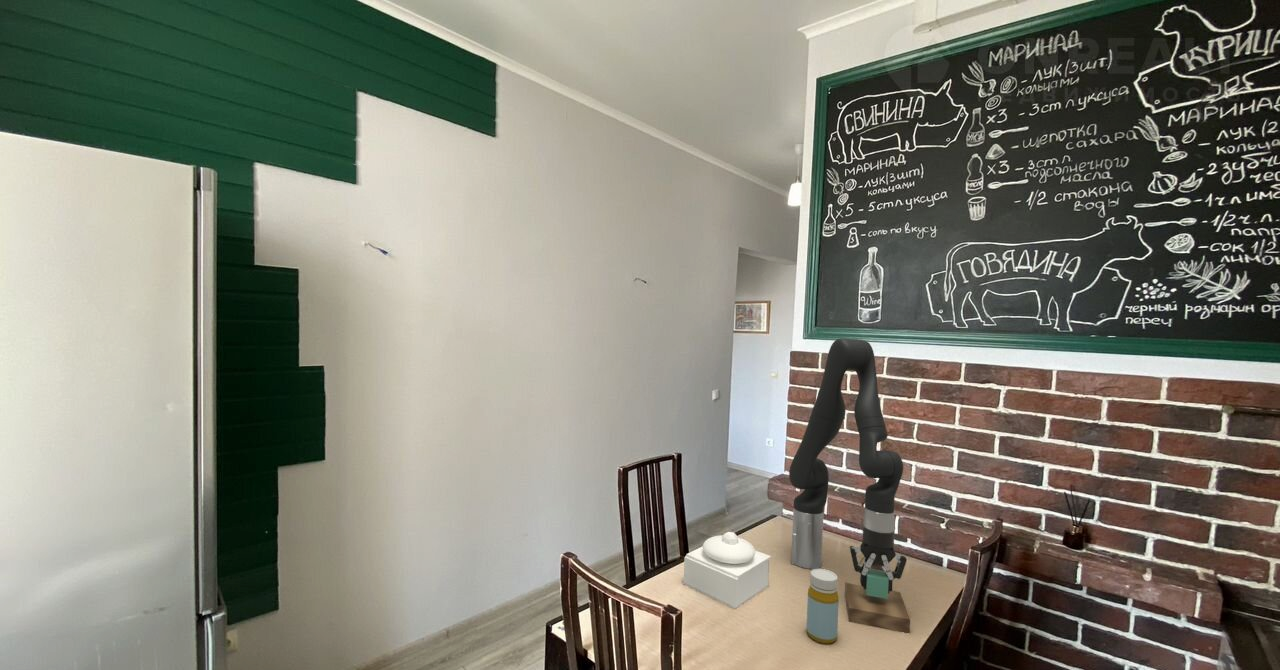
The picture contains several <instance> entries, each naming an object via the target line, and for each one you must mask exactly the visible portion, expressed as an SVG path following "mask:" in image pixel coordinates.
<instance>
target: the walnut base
mask: <svg viewBox="0 0 1280 670" xmlns="http://www.w3.org/2000/svg"><path fill="white" fill-rule="evenodd" d="M844 600H845V605H846V606H845V607H846V612H847V613H846V614H847V619H848V620H847V621H848V622H849V623H854V624H858V625H864V626H869V627H873V628H877V629H878V628H879V629H883V630H888V631H891V632H892V631H894V632H897V631H898V633H902V632H904V634H907V633H910V632H911V631H910V630H911V617H910V615H909V612H908V609H907V607H906V605H905V602H904V598H903V596H902V594H901V591H894V590H892V591H890V592H889V593H888V599H885V598H879V597H874V596H868V595H867V594H866V590H865V589H864V588H863V587H862V586H861V584H856V583H850V582H844ZM910 634H911V633H910Z"/></svg>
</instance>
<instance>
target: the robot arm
mask: <svg viewBox="0 0 1280 670" xmlns="http://www.w3.org/2000/svg"><path fill="white" fill-rule="evenodd" d="M876 367H877V366H876V357H875V352H874V349H873V347H872V345H871V344H870V342H869V341H867V340H864V339H855V338H846V337H840V338H837V339H835V340H834V341H833V342H832V344H831V346H830V347H829V351H828V354H827V358H826V363H825V366H824V371H823V375H822V380H821V384H820V385H819V390H818V393H817V397H816V399H815V402H814V405H813V407H812V410H811V411H810V412H811V413H810V416H809V419H808V423H807V426H806V428H805V432H804V434H803V437H802V439H801V442H800V444H799V447H798V449H796V450H797V451H796V452H795V455H794V456H793V459H792V461H791V464H790V467H789V471H788V477H789V481H790V483H791V486H792V487H794V488H795V489H797V490H803V491H802V492H801V493H800V494H799V495H797V496H795V498H794V500H793V510H792V513H793V514H792V516H793V517H792V531H791V534H792V535H791V536H792V537H791V556H790V557H791V560H790V564H791V565H795V566H798V567H800V568H802V569H803V568H804V569H808V570H809V569H810V570H813V569H820V568H821V567H822V560H823V537H824V534H823V533H824V514H825V513H824V511H825V506H826V504H827V500H828V499H827V498H828V489H829V470H828V467H827V465H826V462H824V461H823V460H822V459H820V458H818V457H819V455H820V454H821V452H822V451H823V450H824V449H826V447H827V446H828V445H829V444H830V443H831V442H832V441H833V440H834V439H835V438H836V436H837V435H838V433H839V432H840V429H842V426H843V425H842V424H843V423H844V419H845V416H846V405H845V400H844V397H843V394H842V383H843V380H844V376H845V374H846V372H847V371H853V372H856V375H857V378H858V383H859V384H858V385H859V388H858V393H857V398H856V400H855V404H854V409H853V410H854V411H853V412H854V419H855V423H856V424H855V425H856V427H857V432H858V435H859V451H858V465H859V468H860V470H861V472H862V473H863V474H864V476H866V477H867V478H870V479H878V481H876V482H875V483H872V484H870V485H868V486H867V487H866V489H865V495H864V496H865V498H864V511H863V518H862V540H861V541H862V542H861V544H860V546H854V545H850V546H849V553H850V555H851V561H852V565H853V570H854V572H856V573H859V574H860V580H859V581H860V585H861V586H862V587H863V588H864V589H866V582H867V575H866V574H867V572H868V570H869V569H871V567H872V565H873V566H879V567H882V566H883V567H884V569H885V571H886V574H887V577H888V580H889V582H888V593H889V592H890V591H893V582H894V581H893V580H895V579H898V580H900V579H901V578H902V576H903V573H904V569H905V566H906V565H907V564H906V563H907V560H908V559H907V557H906V555H905V554H904V553H899V552H896V551H895V527H896V526H895V525H896V524H895V521H896V520H895V504H896V503H895V497H896V493H897V491H898V489H899V485H900V482H901V480H902V477H903V473H904V463H903V459H902V457H901V456H900V454H898V452H896V451H894V450H877V449H878V448H877V446H878V443H881V442H884V441H886V440H887V439H888V430H887V427H886V424H885V419H884V416H883V413H882V408H881V405H880V397H879V387H878V377H877V376H878V375H877V369H876ZM860 553H861V554H862V555H863V557H865V558H864V559H863V560H862V564H861V566H860V565H859V562H858V556H860ZM894 558H895V560H896V565H895V568H894V571H892V569H891V565H890V562H892V560H893V559H894ZM883 567H882V568H883Z"/></svg>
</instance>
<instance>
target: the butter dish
mask: <svg viewBox="0 0 1280 670" xmlns="http://www.w3.org/2000/svg"><path fill="white" fill-rule="evenodd" d="M771 558H772V556H771V555H769V554H766V553H763V552H760V551H757V550H756V549H755V547H754V546H753V544H752V543H751V542H749V541H747V540H745V539H743V538H742V537H738V536H737V534H736V533H735V532H733V531H727V532H725V533H724V534H722V535H715V536H712V537H709V538H707V539H706V540H705V541H704V542H703V545H702V546H701V547H699V548H697V549H695V550H692V551H690V552H688V553H686V555H685V556H684V559H683V560H684V562H683V585H684V586H686V587H688V588H690V589H693V590H694V589H695V590H694V591H696V592H698V593H700V592H701V593H700V594H703V595H705V596H707V597H709V598H710V599H713V600H714V601H717V602H719V603H721V602H722V603H721V604H723V605H725V604H726V606H727V605H728V606H727V607H730V608H732V609H734V610H736V609H738V608H739V607H741V606H742V605H744V604H745V603H747V602H748V601H749V600H752V598H754V597H755V596H757V595H759V594H760V593H761V592H763V591H764V590H765V589H767V588H768V587H769V579H770V578H769V577H770V560H771ZM762 590H763V591H762ZM760 591H761V592H760ZM759 592H760V593H759ZM756 594H757V595H756ZM753 596H754V597H753ZM746 601H747V602H746ZM743 603H744V604H743ZM740 605H741V606H740Z"/></svg>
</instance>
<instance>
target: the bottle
mask: <svg viewBox="0 0 1280 670" xmlns="http://www.w3.org/2000/svg"><path fill="white" fill-rule="evenodd" d="M809 575H810V579H809V581H810V583H809V584H810V585H809V588H808V589H807V602H806V603H807V605H806V606H807V607H806V633H807V634H808V636H809V637H810V638H811V639H812V640H814V641H816V642H817V643H819V644H820V643H821V644H826V645H827V644H832V643H834V642H835V641H836V640H837V638H838V625H839V624H838V623H839V604H840V603H839V599H840V597H839V593H838V576H837V574H836V573H835V572H833V571H832V570H828V569H824V568H816V569H811V571H810V574H809Z"/></svg>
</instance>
